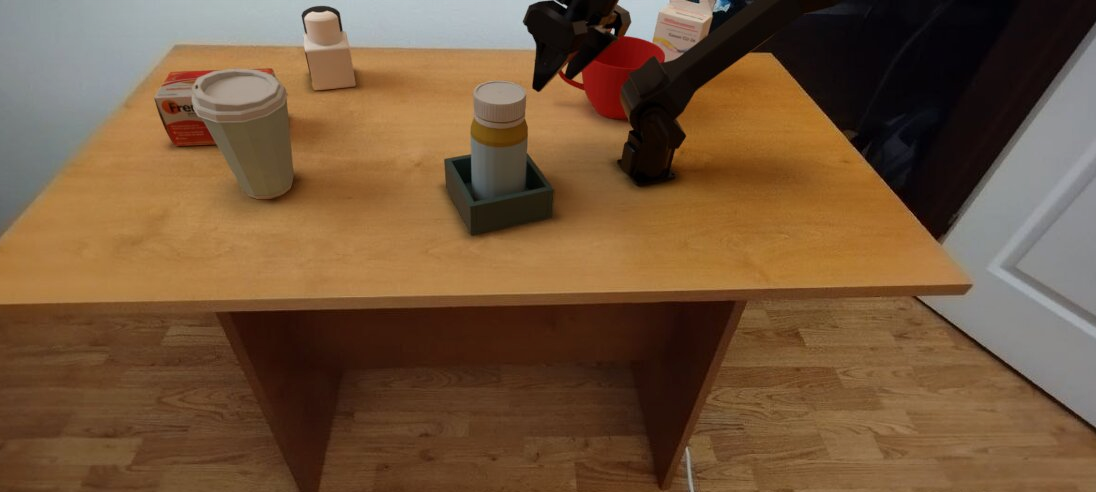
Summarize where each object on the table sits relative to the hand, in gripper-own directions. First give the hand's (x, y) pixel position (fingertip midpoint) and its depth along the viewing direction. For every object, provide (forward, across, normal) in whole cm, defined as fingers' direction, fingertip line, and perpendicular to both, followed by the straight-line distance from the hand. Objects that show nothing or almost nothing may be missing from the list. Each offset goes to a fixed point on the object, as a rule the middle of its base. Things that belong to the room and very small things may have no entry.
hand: (552, 84), depth 74 cm
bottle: (+15, +6, +2) cm, 16 cm away
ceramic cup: (+9, -25, +1) cm, 26 cm away
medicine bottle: (+25, -8, -40) cm, 48 cm away
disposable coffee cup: (+26, +20, -23) cm, 40 cm away
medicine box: (+29, +13, -39) cm, 50 cm away
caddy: (+15, +7, +2) cm, 17 cm away
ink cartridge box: (+3, -43, +6) cm, 43 cm away
